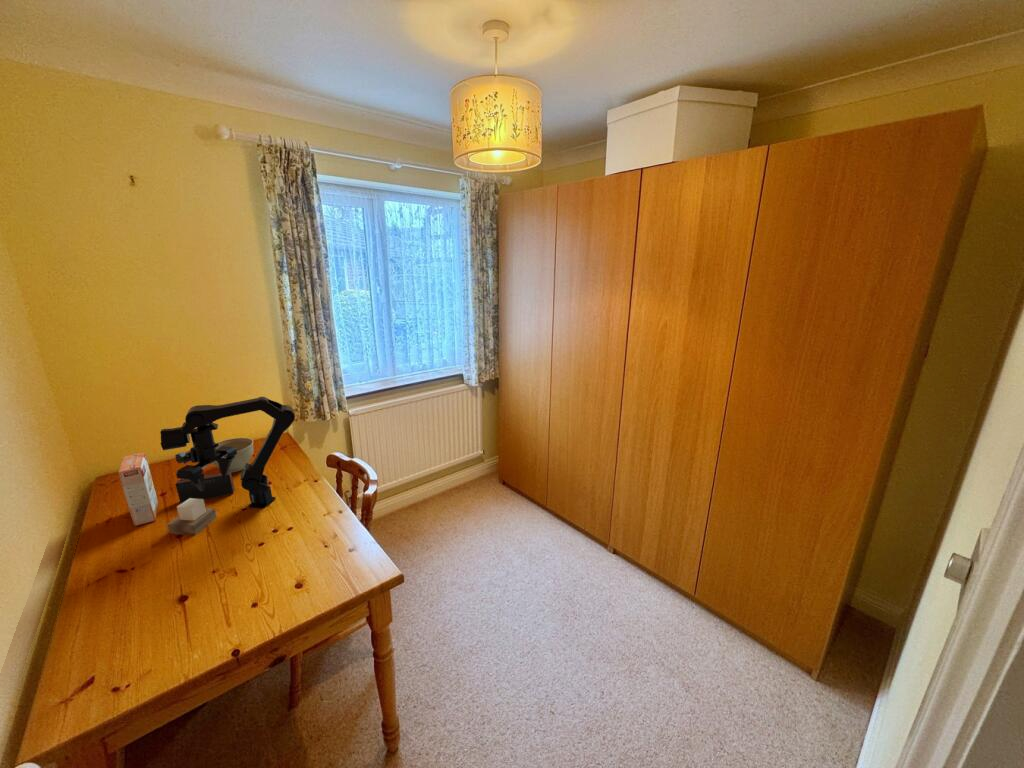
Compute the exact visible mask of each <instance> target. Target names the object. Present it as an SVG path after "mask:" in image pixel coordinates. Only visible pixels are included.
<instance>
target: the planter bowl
mask: <svg viewBox="0 0 1024 768" xmlns="http://www.w3.org/2000/svg"><path fill="white" fill-rule="evenodd" d="M217 443H218V445H219V446H217V447H216V449H218V448H220V447H222V446H229V447H234V448H236V450H237V454H236V455H234V456H235V458H233V460H232V463H231V465H230V467H229V470H228V472H231V474H233V473H237V472H241V471H243V469H244V468H245V465H246V463H248V464H250V461H251V460H252V458H253V455H254V440H253V439H252V438H248V437H235V438H228V439H224V440H221V441H218V442H217ZM217 463H218V462H217V461H214V462H213V465H214V464H215V465H214V466H216V467H217V468H218V469H220V467H219V464H217Z"/></svg>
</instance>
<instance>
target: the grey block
mask: <svg viewBox="0 0 1024 768" xmlns="http://www.w3.org/2000/svg"><path fill="white" fill-rule="evenodd" d="M215 520H217V514H216V509H215V508H206V512H205V513H204V514H203V515H201V516H200V517H199V518H197V519H196V520H194V521H192V520H180V517H179V515H178V516H177V517H175V518H173V520H171V521H170V522H168V523H167V524H166V525H167V529H168V533H169V534H170V535H172V534H173V535H195V536H196V535H198V534H199V533H200V532H201V531H202V530H204V529H205V528H206V527H207V526H208V525H210V524H211V523H212V522H213V521H215Z"/></svg>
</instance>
